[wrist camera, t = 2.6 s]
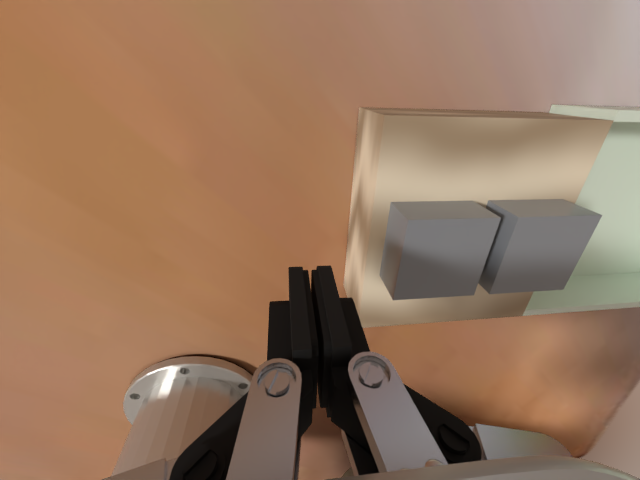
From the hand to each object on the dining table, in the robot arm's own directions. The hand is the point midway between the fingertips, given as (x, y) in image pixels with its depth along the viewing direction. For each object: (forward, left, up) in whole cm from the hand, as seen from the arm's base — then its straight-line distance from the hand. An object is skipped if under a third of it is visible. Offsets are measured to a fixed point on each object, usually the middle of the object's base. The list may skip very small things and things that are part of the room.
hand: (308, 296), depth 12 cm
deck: (-1, -11, -11) cm, 15 cm away
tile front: (-1, -8, -6) cm, 10 cm away
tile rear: (-1, -14, -6) cm, 15 cm away
